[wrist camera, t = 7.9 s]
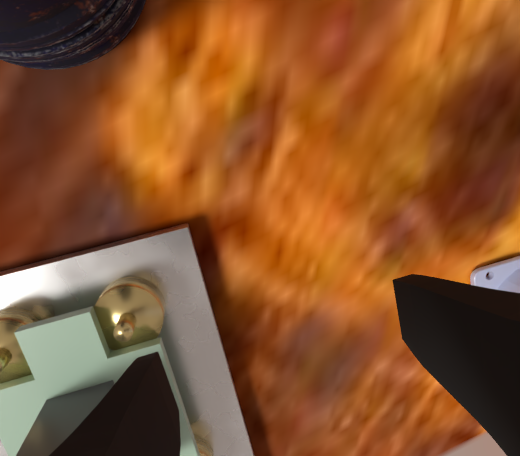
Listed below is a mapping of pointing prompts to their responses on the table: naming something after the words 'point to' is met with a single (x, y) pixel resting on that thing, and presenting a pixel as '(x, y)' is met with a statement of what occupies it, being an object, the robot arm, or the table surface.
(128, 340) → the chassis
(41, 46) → the storage jar
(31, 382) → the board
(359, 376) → the table surface
